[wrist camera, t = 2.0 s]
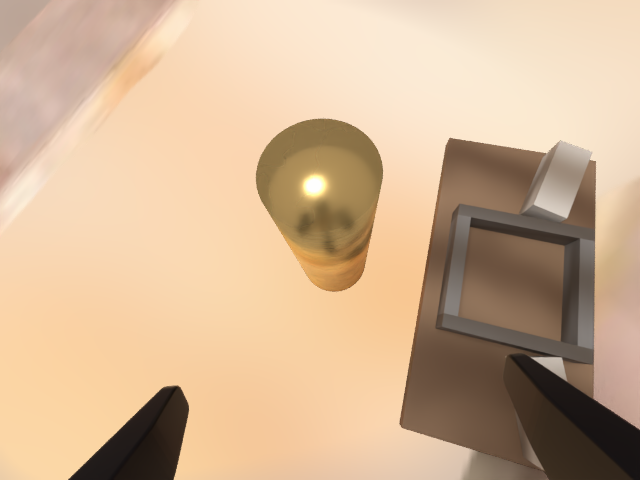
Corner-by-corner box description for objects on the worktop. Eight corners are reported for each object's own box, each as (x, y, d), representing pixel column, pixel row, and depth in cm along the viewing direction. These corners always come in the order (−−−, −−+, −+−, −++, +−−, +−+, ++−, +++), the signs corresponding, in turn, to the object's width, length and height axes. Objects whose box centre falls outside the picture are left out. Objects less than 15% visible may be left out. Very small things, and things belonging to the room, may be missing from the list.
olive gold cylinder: (339, 304, 22) (327, 258, 10) (291, 265, 23) (230, 183, 11) (377, 255, 23) (408, 160, 11) (329, 220, 24) (310, 99, 12)
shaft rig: (579, 478, 18) (623, 503, 15) (399, 423, 19) (408, 437, 16) (585, 168, 23) (618, 144, 21) (445, 145, 25) (458, 120, 22)
